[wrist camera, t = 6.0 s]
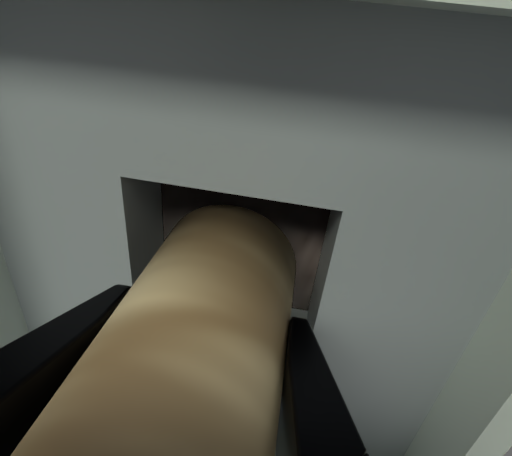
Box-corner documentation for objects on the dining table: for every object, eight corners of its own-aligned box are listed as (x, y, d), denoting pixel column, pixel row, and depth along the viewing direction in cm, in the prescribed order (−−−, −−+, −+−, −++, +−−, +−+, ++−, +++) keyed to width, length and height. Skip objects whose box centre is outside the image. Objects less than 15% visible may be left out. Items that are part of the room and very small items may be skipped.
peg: (306, 216, 10) (264, 679, 3) (286, 322, 12) (234, 739, 5) (164, 194, 10) (-166, 559, 3) (169, 300, 12) (-28, 660, 5)
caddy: (623, -11, 8) (925, -41, 4) (402, 415, 16) (427, 544, 12) (-40, -73, 9) (-305, -139, 5) (69, 347, 17) (-5, 441, 13)
